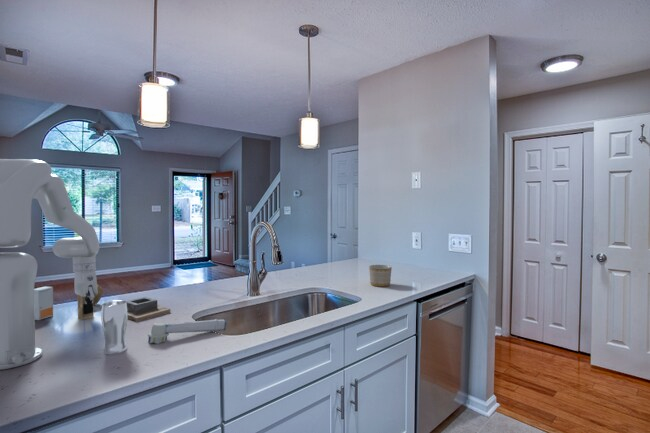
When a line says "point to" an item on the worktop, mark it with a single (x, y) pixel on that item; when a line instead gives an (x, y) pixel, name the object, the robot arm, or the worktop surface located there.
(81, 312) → the oak peg
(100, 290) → the natural sponge
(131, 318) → the peg caddy
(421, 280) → the worktop surface
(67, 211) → the robot arm
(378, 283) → the planter
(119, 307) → the beer glass
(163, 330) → the white handle
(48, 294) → the skincare box
